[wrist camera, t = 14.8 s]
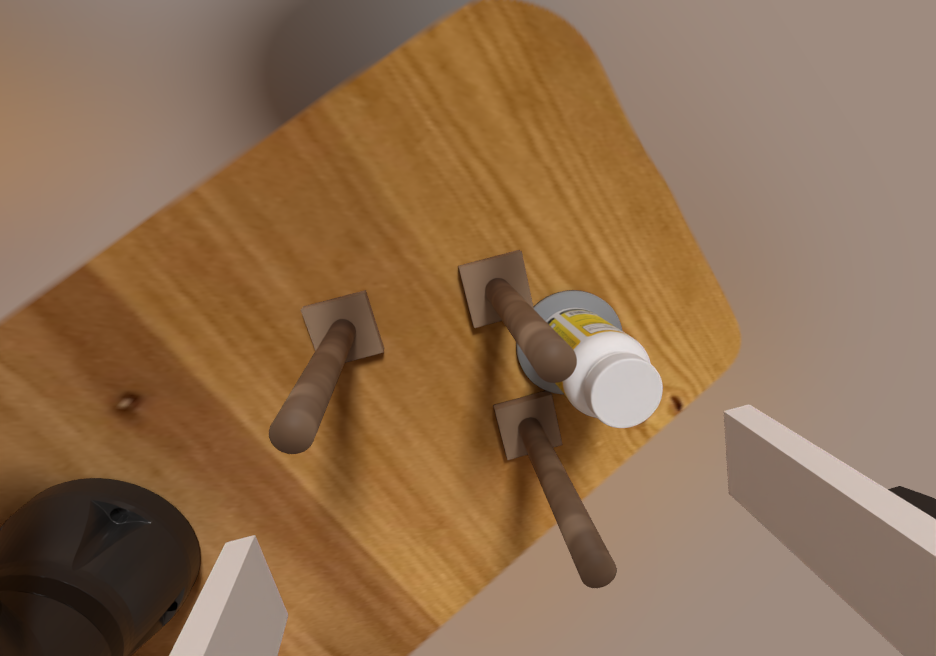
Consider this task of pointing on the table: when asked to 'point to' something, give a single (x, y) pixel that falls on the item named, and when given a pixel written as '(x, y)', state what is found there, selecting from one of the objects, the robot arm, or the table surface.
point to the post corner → (516, 313)
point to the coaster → (557, 304)
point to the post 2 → (555, 481)
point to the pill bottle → (607, 370)
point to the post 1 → (325, 366)
